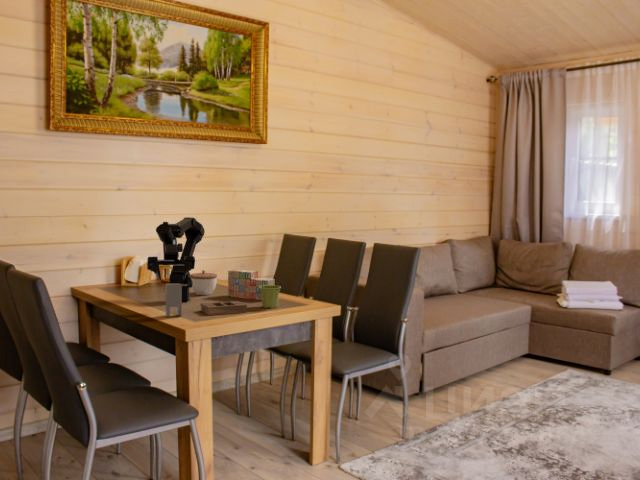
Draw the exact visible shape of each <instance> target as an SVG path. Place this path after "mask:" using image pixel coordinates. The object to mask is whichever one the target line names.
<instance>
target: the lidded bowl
mask: <svg viewBox="0 0 640 480" xmlns="http://www.w3.org/2000/svg"><path fill="white" fill-rule="evenodd" d="M205 271H206V270H204V269H203V270H201V272H194V273H190V276H191V279H192V281H193V285H192V288H191V290H192V291H193V292H194V293H195V295H198V296H208V295H212V293H213V292H214V291H215V289H216V287H217V280H218V278H217V277H218V275H217V273H213V272H205Z"/></svg>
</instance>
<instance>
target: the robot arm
mask: <svg viewBox="0 0 640 480" xmlns="http://www.w3.org/2000/svg"><path fill="white" fill-rule="evenodd" d="M155 232H156V234H157V237H158V238H159V241H161V242H162V249H163V250H162V251H163V252H162V253H163V259H159V257H158V256H148V257H147V260H146V262H147V263H146V267H147V268H146V269H147V270H148V271H150V272H153V273H154V274H155V276H156V277H157V278H158V280H159V281H162V277H161V274H162V273H161V270H160V266H172V268H171V271H170V274H169V276H168V277H169V284H172V283H181V284H182V303H187V302H190V301H191V298H190V288H191V289H192V285H193V281H192V279H191V276H190V274H191V272H190V271H192V270H194V269H195V264H196V258H195V256H194V252H195V249H196V246H197V244H198V243H200V242H201V241H202V239H203V237H204V236H205V228H204V226H203V224H202V223H200V222H199V221H198V220H197V219H196V218H195V217H193V216H192V217H189V216H188V217H187V216H185V217H183V219H181V220H180V221H177V222H175V223H169V221H163V222H162V223H161V224H159V225H158V226H156V227H155ZM183 236H185V243H184V246H183V243H178V240H177V239H181V238H182V237H183ZM179 253H181V255H180V254H179ZM179 255H180V257H179Z"/></svg>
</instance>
